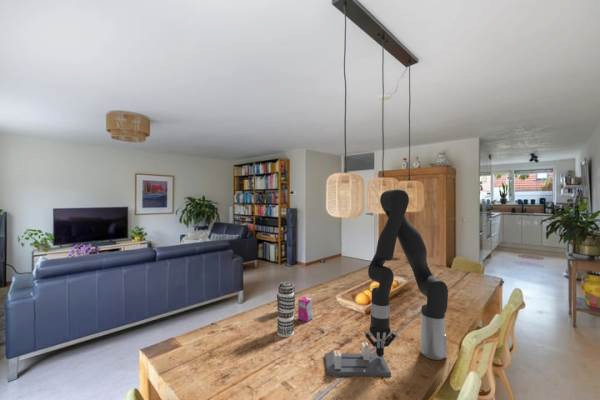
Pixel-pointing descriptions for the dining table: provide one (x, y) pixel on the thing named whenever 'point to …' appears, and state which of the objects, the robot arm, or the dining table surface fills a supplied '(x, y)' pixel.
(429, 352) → the robot arm
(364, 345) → the white fader
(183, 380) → the dining table surface
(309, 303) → the supplement box
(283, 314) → the decorative candle
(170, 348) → the dining table surface
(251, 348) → the dining table surface
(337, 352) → the grey fader
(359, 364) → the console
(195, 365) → the dining table surface
